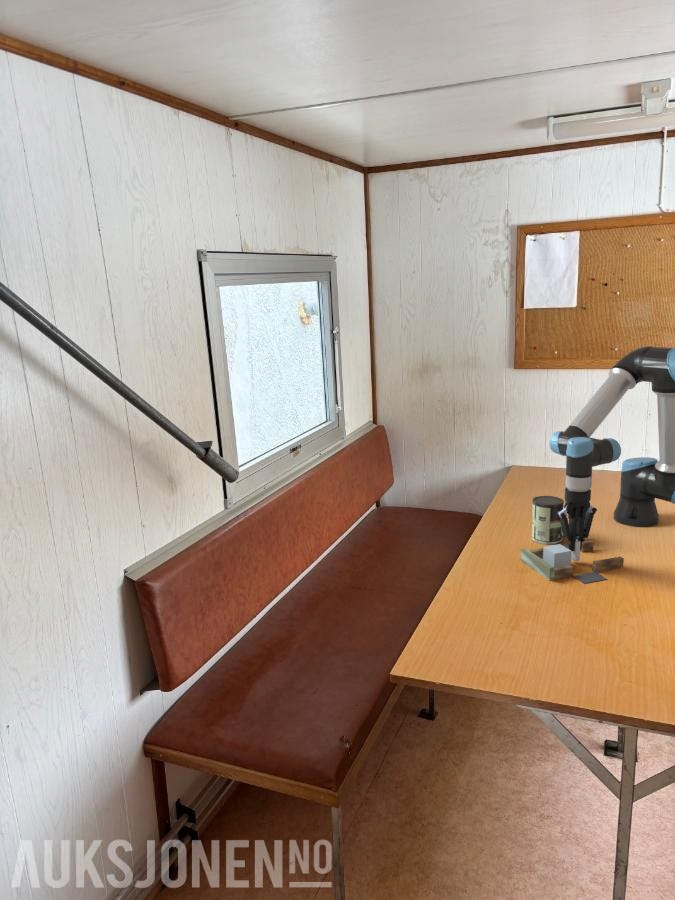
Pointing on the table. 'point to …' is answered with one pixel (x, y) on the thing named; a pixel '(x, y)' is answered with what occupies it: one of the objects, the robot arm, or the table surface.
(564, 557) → the block
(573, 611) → the table surface
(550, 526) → the coffee can
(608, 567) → the lane
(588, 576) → the mat
